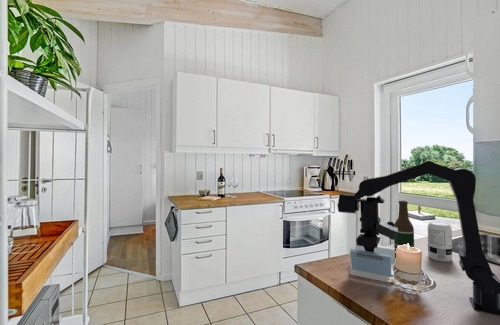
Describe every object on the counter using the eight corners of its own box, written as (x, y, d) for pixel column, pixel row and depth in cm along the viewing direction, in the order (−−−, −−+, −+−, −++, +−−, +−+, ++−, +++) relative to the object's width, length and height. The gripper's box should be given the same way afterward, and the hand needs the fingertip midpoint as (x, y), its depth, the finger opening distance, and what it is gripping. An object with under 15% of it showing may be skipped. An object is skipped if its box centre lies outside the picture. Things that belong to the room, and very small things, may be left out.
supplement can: (424, 254, 111) (423, 221, 111) (444, 255, 110) (443, 221, 110) (435, 262, 103) (434, 225, 103) (457, 263, 102) (456, 226, 102)
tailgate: (391, 278, 84) (390, 259, 82) (351, 270, 91) (349, 252, 88) (391, 274, 86) (390, 254, 84) (352, 266, 93) (350, 248, 90)
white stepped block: (393, 283, 86) (393, 260, 86) (350, 274, 93) (350, 253, 93) (395, 268, 98) (394, 248, 98) (356, 261, 105) (356, 242, 105)
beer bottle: (416, 254, 112) (415, 200, 112) (412, 259, 106) (411, 203, 106) (396, 250, 117) (395, 199, 117) (392, 255, 111) (391, 201, 111)
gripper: (394, 224, 76) (395, 274, 76) (397, 211, 91) (398, 253, 92) (355, 220, 82) (356, 267, 82) (364, 208, 97) (365, 248, 98)
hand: (370, 258), depth 88 cm, fingers closed
